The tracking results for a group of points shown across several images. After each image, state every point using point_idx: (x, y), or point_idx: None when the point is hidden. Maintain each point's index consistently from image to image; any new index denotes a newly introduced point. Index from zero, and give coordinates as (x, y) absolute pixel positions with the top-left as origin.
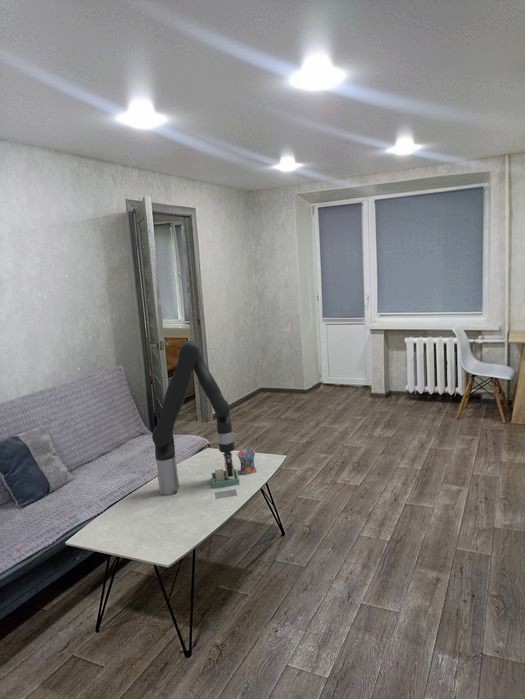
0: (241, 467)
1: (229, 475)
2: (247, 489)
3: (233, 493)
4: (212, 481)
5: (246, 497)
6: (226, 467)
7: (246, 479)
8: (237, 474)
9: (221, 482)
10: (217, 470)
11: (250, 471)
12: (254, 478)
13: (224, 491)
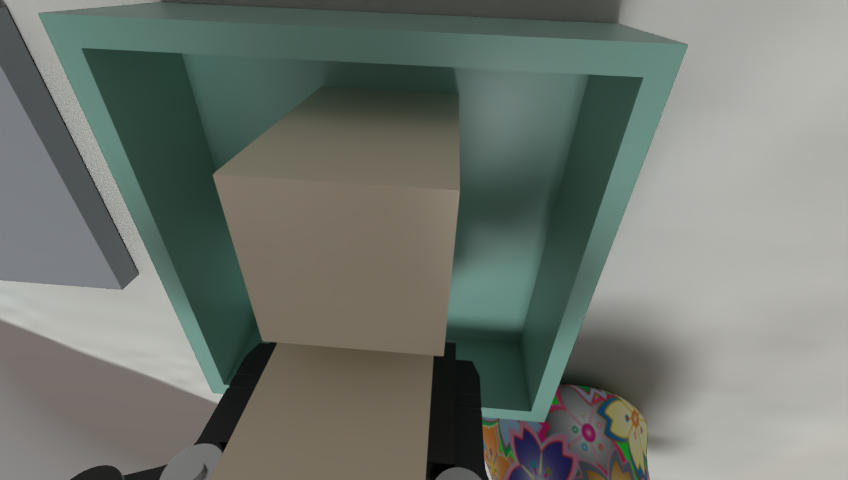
0: (565, 460)
1: (258, 352)
2: (179, 355)
3: (3, 253)
4: (131, 17)
5: (9, 322)
6: (222, 478)
7: None
8: None
9: (135, 190)
10: (403, 248)
11: (485, 460)
12: None
13: (41, 168)
